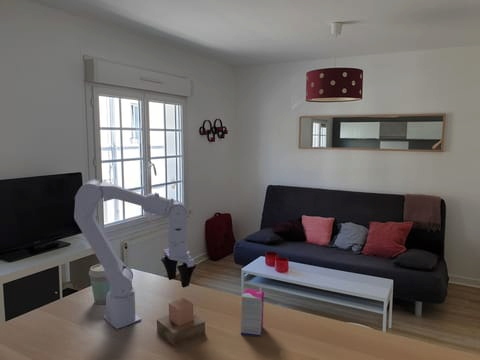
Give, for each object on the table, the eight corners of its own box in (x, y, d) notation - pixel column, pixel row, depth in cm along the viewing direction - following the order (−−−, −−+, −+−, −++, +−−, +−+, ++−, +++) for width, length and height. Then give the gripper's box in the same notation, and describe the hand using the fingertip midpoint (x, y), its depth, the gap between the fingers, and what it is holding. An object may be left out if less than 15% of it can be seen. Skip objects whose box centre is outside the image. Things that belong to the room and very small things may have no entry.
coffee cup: (106, 293, 136) (105, 261, 134) (122, 299, 131) (120, 266, 129) (85, 302, 129) (83, 268, 127) (100, 309, 124) (98, 273, 122)
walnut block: (157, 332, 111) (156, 319, 110) (186, 321, 117) (186, 309, 117) (174, 347, 103) (174, 333, 103) (205, 334, 110) (204, 321, 109)
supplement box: (261, 337, 108) (261, 298, 106) (240, 334, 109) (240, 296, 107) (263, 326, 113) (264, 289, 112) (244, 324, 114) (244, 288, 113)
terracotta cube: (169, 319, 110) (168, 303, 109) (183, 313, 114) (183, 297, 113) (178, 326, 107) (178, 309, 106) (193, 320, 110) (193, 303, 109)
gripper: (202, 243, 115) (202, 286, 117) (175, 233, 126) (176, 272, 127) (182, 248, 110) (183, 292, 112) (157, 237, 121) (158, 278, 123)
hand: (178, 282), depth 119 cm, fingers open, 7 cm apart
